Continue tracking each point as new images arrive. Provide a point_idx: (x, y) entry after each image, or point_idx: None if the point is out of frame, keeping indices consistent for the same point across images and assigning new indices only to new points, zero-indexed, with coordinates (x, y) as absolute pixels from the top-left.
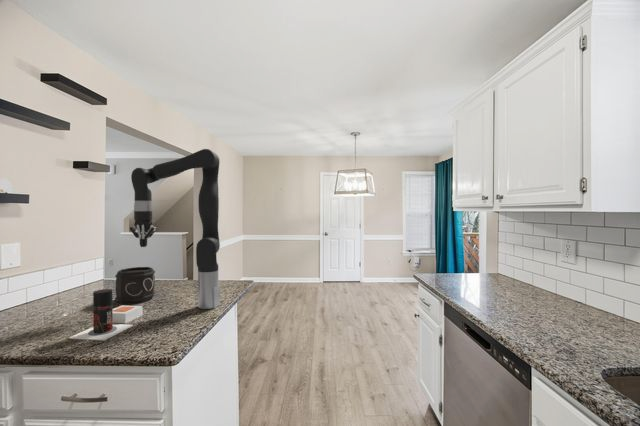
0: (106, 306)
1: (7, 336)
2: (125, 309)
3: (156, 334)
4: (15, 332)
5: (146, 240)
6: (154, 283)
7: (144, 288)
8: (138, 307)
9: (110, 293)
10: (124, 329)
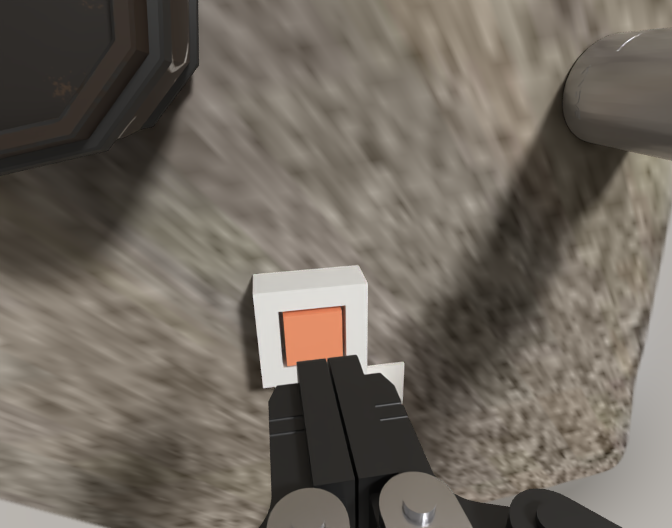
0: None
1: (60, 512)
2: (332, 346)
3: (520, 394)
4: (39, 491)
5: (419, 468)
6: None
7: (184, 65)
8: (362, 303)
9: None
10: (402, 396)
